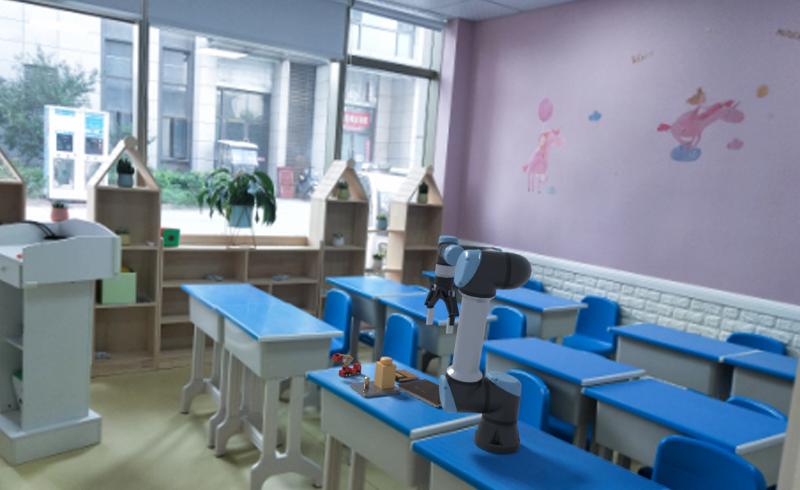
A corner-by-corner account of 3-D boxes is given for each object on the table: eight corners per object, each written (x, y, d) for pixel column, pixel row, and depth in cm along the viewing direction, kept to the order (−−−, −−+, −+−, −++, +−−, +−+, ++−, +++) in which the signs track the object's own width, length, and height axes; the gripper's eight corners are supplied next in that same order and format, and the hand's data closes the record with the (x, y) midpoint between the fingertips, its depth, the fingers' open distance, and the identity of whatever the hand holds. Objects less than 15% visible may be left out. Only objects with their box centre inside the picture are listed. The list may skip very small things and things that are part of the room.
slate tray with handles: (399, 393, 240) (401, 379, 239) (364, 397, 232) (365, 383, 231) (384, 383, 250) (386, 370, 249) (349, 386, 242) (351, 373, 241)
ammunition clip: (398, 382, 252) (420, 379, 259) (398, 378, 252) (421, 375, 259) (383, 374, 260) (405, 372, 268) (383, 370, 260) (405, 367, 268)
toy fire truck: (362, 374, 258) (364, 352, 257) (335, 378, 250) (337, 356, 248) (357, 372, 261) (359, 350, 260) (330, 376, 252) (332, 353, 251)
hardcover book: (435, 409, 228) (436, 403, 228) (396, 389, 246) (397, 383, 245) (465, 402, 238) (466, 397, 238) (426, 383, 256) (426, 378, 256)
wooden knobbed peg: (394, 387, 242) (397, 360, 241) (381, 388, 239) (383, 361, 237) (386, 382, 247) (389, 355, 246) (373, 383, 244) (376, 357, 242)
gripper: (472, 281, 228) (466, 336, 231) (434, 269, 249) (429, 320, 252) (456, 281, 224) (450, 338, 227) (419, 269, 245) (414, 321, 248)
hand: (439, 329), depth 239 cm, fingers open, 13 cm apart
